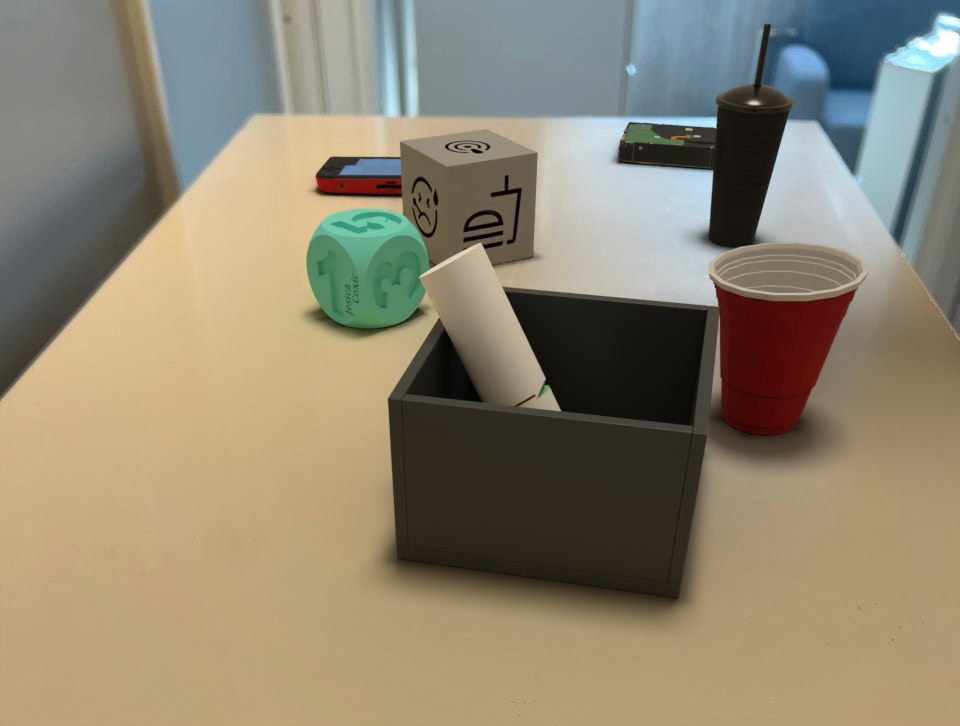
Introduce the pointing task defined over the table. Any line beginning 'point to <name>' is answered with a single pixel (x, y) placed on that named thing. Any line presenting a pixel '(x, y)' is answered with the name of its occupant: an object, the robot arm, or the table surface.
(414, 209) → the icon cube
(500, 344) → the tube
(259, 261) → the table surface
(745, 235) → the drinking cup
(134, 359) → the table surface
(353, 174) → the game console
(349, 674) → the table surface
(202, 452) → the table surface
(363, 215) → the decorative dice
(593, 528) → the bin
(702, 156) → the disk drive
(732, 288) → the plastic cup
